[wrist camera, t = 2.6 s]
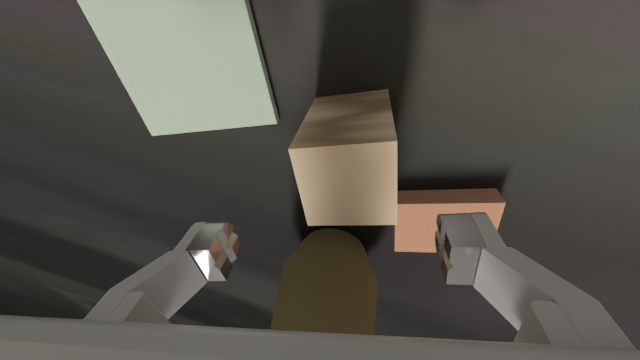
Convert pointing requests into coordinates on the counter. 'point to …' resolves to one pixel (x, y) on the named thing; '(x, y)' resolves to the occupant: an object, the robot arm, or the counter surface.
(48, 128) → the counter surface
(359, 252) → the squeeze bottle
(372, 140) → the maple block
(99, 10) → the mat
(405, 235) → the terracotta tile
